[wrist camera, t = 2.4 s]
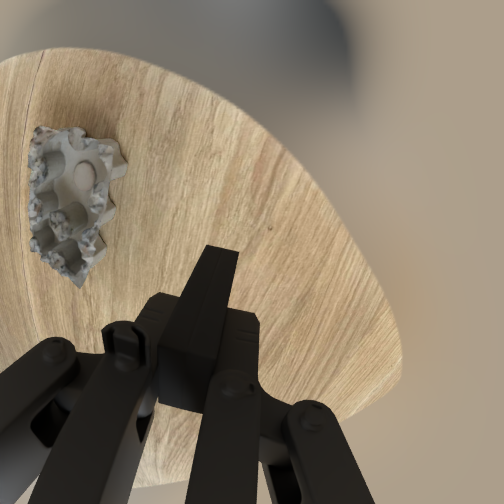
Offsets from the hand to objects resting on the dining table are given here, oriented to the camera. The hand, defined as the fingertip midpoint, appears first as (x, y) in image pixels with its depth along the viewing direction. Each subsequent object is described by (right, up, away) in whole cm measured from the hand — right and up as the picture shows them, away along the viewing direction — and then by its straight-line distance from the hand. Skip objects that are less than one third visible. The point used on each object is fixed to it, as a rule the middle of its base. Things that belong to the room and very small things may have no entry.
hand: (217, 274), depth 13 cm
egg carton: (-11, +5, +5) cm, 14 cm away
